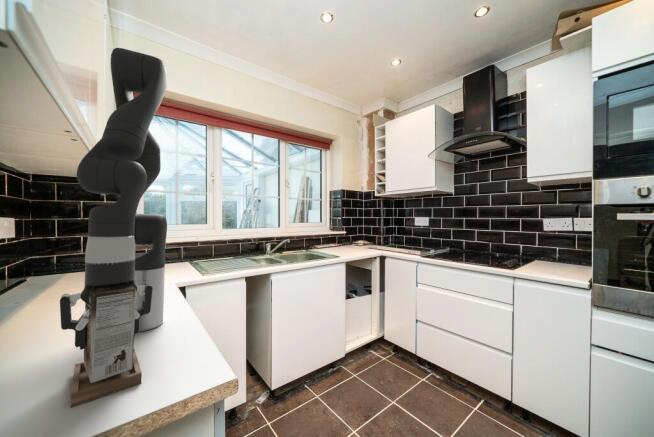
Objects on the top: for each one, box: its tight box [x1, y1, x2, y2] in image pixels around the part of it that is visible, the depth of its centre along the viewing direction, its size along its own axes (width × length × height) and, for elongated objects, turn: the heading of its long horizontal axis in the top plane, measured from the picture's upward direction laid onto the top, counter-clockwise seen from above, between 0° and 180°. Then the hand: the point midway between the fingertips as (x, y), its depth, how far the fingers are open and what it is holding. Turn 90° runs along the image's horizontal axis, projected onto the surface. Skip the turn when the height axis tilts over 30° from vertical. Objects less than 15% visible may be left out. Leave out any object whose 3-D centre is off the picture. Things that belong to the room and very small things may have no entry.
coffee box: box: [83, 286, 136, 383], centre depth 49 cm, size 9×6×16 cm
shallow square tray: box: [70, 348, 142, 408], centre depth 49 cm, size 12×10×2 cm
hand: (108, 341), depth 50 cm, fingers closed on coffee box, 7 cm apart
